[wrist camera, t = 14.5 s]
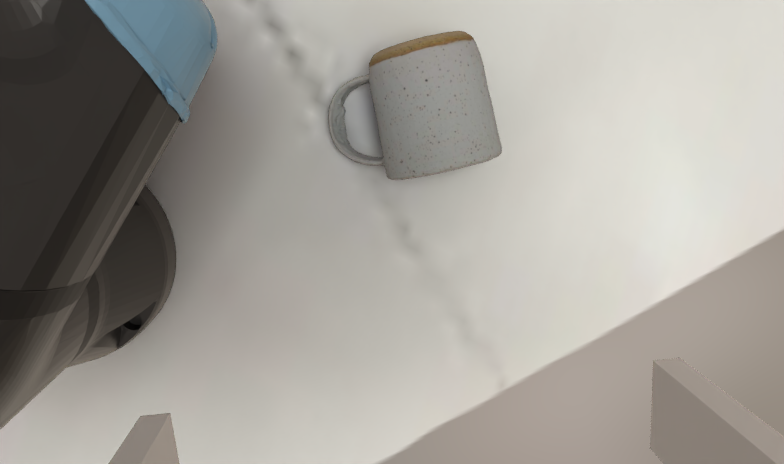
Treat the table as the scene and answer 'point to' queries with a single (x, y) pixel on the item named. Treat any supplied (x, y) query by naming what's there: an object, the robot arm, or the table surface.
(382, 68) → the ceramic mug
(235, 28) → the table surface
